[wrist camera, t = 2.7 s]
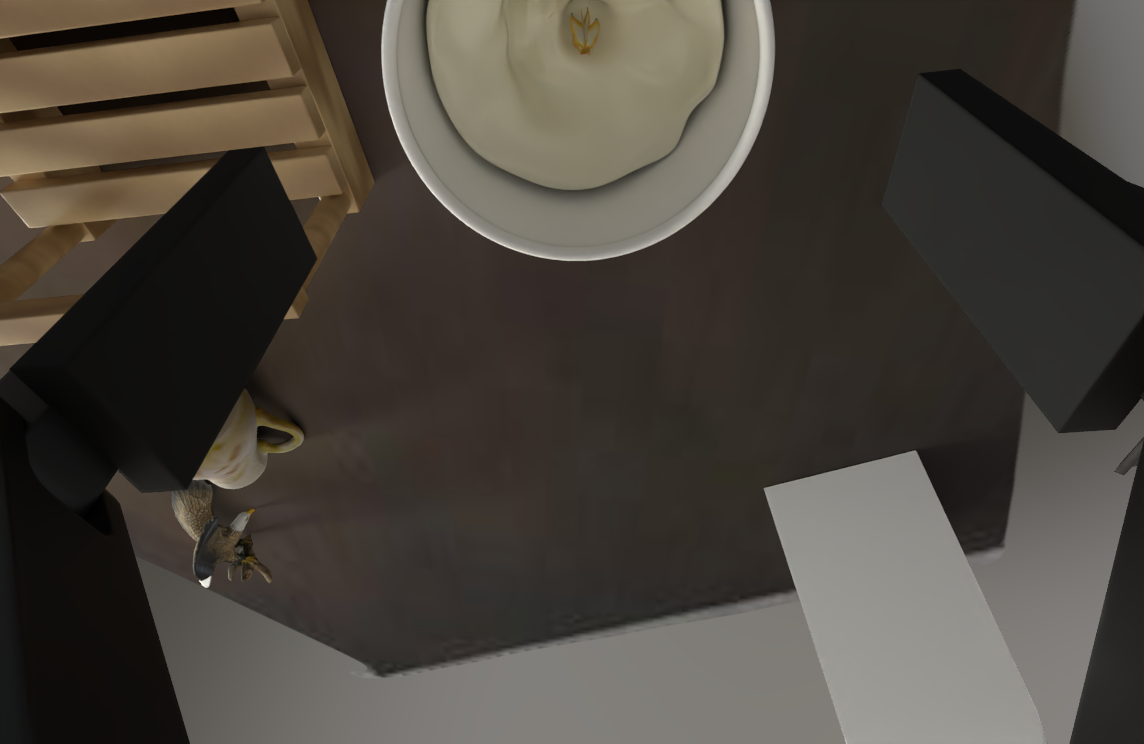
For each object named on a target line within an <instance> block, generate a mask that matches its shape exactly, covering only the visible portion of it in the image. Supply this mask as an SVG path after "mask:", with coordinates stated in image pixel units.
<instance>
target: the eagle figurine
mask: <svg viewBox="0 0 1144 744" xmlns="http://www.w3.org/2000/svg"><path fill="white" fill-rule="evenodd" d="M212 494H213V489H212V485H211V484H207V483H206V482H205V481H204V480H192V482H191V484H190V485H189V487H188V489H187V490H180V491H172V495H171V496H172V499H171V501H172V507H173V509H174V512H175V515H176V518H177V519H178V521H179V522H180V524H181V526H182V527H183V528H184V530H186V532H187V533H188V534H189V535H190V536H191V537H192V538H193V539H194V540H195V541H196V542H197V544H196V548H195V551H194V558H193V572H194V575H195V576H196V577H197V579H199V581H200V582H201V584H202V585H203V586H204V587H206V588H208V587H209V586H210V584H211V580H212V575H213V572H214V568H215V567H216V565H217V564H218V563H221V562H223V561H224V562H229V563H233V564H232V565H231V566H230V567H229V568H228V578H229V579H230V581H231V580H232V579H233V574H234V572H235V571H236V570H237V569H238V568H239V567H240V566H241V565H242V564H243V565H242V570H241V579H242V581H247V580H248V579H249V578H250V577H251V575H252V573H253V569H257V570H258V571H259V572H260V573H262V574H263V575H264V576H265V578H266V580H267V581H268V582H269V583H271V582H272V576H271V573H270V571H269V569H268V568H267V567H266V566H264V565H263V564H261V563H260V562H259V561H258V559H257V558H256V557H255V554H254V552H253V550H252V546H253V543H252V539H251V534H247V535H246V536H245V537H244V538H243V539H240V537H241V535H242V532H243V530H244V528H245V526H246V524H247V522H248V520H249V518H250V515H251V514H252V513H253V512H254V511H255V509H254V508H252V509H250V510H248V511H246V512H242V513H240V514H239V515H238V516H237V518H236V519H235V520H234V521H233V522H232V523H231V524H230V525H229V526H227V527H223V526H221V525H219V524H218V518H217V517H216V516H214V515H213V511H212V506H211V505H212ZM238 546H240V548H241V550H240V551H239V552H238V553H236V552H235V551H234V548H236V547H238Z"/></svg>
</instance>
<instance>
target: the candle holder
mask: <svg viewBox="0 0 1144 744" xmlns="http://www.w3.org/2000/svg"><path fill="white" fill-rule="evenodd" d="M381 59H382V74H383V82H384V89H385V94H386V99H387V104H388V108H389V112H390V115H391V118H392V121H393V124H394V127H395V130H396V133H397V135H398V138H399V140H400V142H401V144H402V147H403V149H404V151H405V153H406V155H407V157H408V158H409V160H410V162H411V164H412V165H413V167H414V169H415V170H416V172H417V173H418V175H419V176H420V178H421V179H422V180H423V182H424V183H425V184H426V186H427V187H428V188H429V189H430V191H431V192H432V193H433V194H434V195H435V197H436V198H437V199H438V200H439V201H440V202H441V203H442V204H443V205H444V206H445V207H446V208H447V209H448V210H449V211H450V212H451V213H453V214H454V215H455V216H456V217H457V218H458V219H460V220H461V221H462V222H464V223H465V224H466V225H468V226H469V227H470V228H472V229H473V230H475V231H476V232H478V233H480V234H481V235H483V236H485V237H486V238H488V239H490V240H492V241H494V242H496V243H498V244H500V245H503V246H505V247H507V248H510V249H513V250H515V251H518V252H521V253H525V254H528V255H532V256H536V257H541V258H547V259H554V260H564V261H589V260H599V259H606V258H612V257H616V256H621V255H625V254H628V253H631V252H635V251H638V250H640V249H643V248H646V247H648V246H650V245H653V244H655V243H657V242H659V241H661V240H663V239H665V238H667V237H668V236H670V235H672V234H674V233H675V232H677V231H678V230H680V229H681V228H683V227H684V226H686V225H687V224H689V223H690V222H691V221H693V220H694V219H695V218H696V217H698V216H699V215H700V214H701V213H702V212H703V211H704V210H706V209H707V208H708V207H709V206H710V205H711V204H712V203H713V202H714V201H715V200H716V199H717V198H718V196H719V195H720V194H721V193H722V192H723V191H724V189H725V188H726V187H727V186H728V185H729V183H730V182H731V181H732V179H733V178H734V176H735V175H736V174H737V172H738V171H739V169H740V167H741V166H742V164H743V163H744V161H745V159H746V157H747V156H748V154H749V152H750V150H751V148H752V146H753V144H754V142H755V140H756V137H757V135H758V133H759V130H760V127H761V125H762V122H763V119H764V116H765V113H766V109H767V105H768V101H769V97H770V92H771V87H772V81H773V73H774V62H775V33H774V22H773V14H772V8H771V3H770V0H387V4H386V8H385V14H384V21H383V29H382V44H381Z"/></svg>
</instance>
